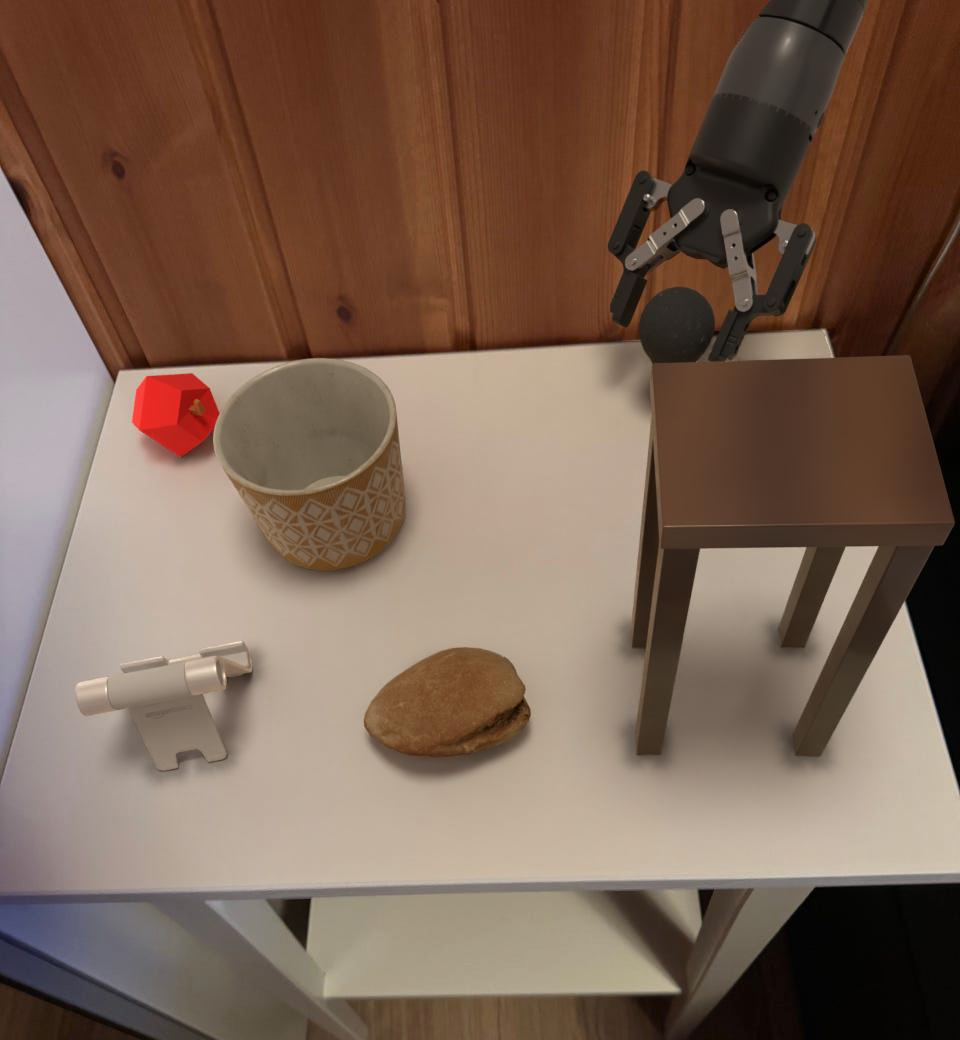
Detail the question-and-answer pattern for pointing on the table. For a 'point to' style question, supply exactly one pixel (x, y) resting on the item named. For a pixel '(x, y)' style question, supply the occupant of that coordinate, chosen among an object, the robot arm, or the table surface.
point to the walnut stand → (785, 507)
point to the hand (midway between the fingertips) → (666, 343)
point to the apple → (175, 411)
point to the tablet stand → (169, 699)
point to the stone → (450, 705)
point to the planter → (316, 460)
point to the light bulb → (676, 326)
